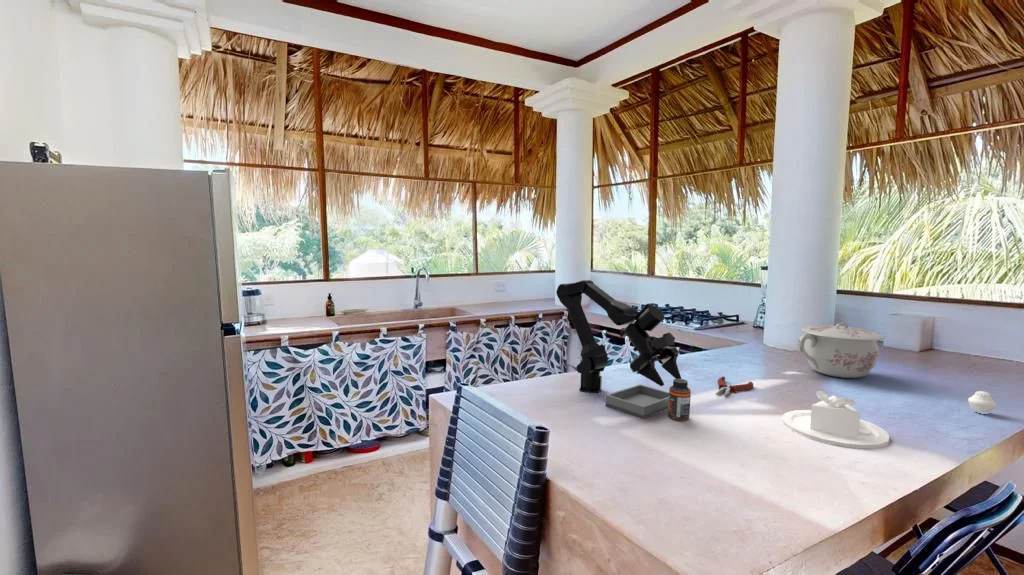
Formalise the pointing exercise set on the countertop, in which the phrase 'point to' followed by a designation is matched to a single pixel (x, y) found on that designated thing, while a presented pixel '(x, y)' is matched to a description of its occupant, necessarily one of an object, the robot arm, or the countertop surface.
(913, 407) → the countertop surface
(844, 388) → the countertop surface
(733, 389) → the pliers
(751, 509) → the countertop surface
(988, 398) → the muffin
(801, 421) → the dish
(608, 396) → the tray
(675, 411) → the supplement bottle
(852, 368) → the chamber pot
